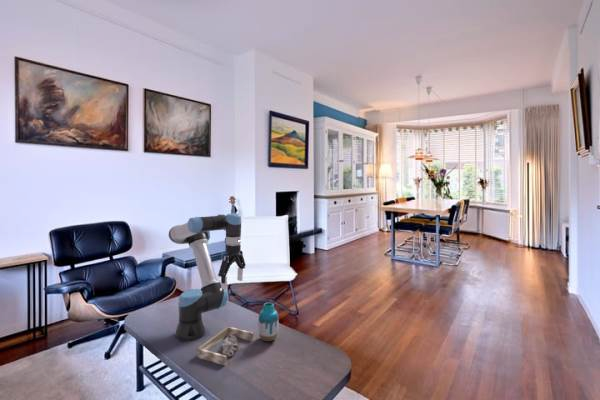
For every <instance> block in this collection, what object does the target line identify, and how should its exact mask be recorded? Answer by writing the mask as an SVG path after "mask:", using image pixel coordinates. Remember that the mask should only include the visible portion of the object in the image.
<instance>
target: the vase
mask: <svg viewBox="0 0 600 400" xmlns="http://www.w3.org/2000/svg"><path fill="white" fill-rule="evenodd" d="M278 335H279V313H278V311H277V310H276V309H275V304H274V303H273V302H269V301H268V302H265V303H263V307H262V310H260V312H259V313H258V336H259V338H260V339H261V340H262V341H264V342H272V341H274V340H275V339H276V338H277V337H278Z"/></svg>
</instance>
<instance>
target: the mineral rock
mask: <svg viewBox="0 0 600 400" xmlns="http://www.w3.org/2000/svg"><path fill="white" fill-rule="evenodd" d="M239 345H240V344H239V342H238V339H237V337H235V336H233V335H228V336H226V337H225V338H224V339H223V342H222V344H221V349H222V351H221V354H222V355H226V356H227V357H232V356H233V355H234V354H235V352H237V351H238V350H239Z"/></svg>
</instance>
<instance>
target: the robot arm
mask: <svg viewBox="0 0 600 400" xmlns="http://www.w3.org/2000/svg"><path fill="white" fill-rule="evenodd" d="M212 231H213V232H215V231H225V252H226V255H222V260H221V264H220V268H219V271H218V274H217V276H216V272H215V269H214V265H213V262H212V258H211V254H210V251H209V247H208V243H209V240H210V239H211V232H212ZM241 237H242V215H241V214H240V213H231V212H230V213H227V214H226V215H225V214H217V215H212V216H211V215H209V216H194V217H190V218H188V221H187V222H186V223H183V224H177V225H174V226H172V227H171V228H170V230H168V238H169V240H170V241H171V242H173V243H175V244H178V245H184V244H185V245H186V244H188V247H189V248H190V249H192V252H193V255H194V256H193V257H194V259H195V263H196V267H197V271H198V274H199V279H200V282H201V287H200V288H195V289H194V288H192V289H188V290H185V291H184V292H181V294H180V295H179V297H178V303H177V304H178V324H177V327H176V330H175V333H174V334H175V338H176V340H177V341H179V342H192V341H195V340H198V339H200V338H202V337H203V336H205V333H206V326H205V325H204V322H203V319H202V317H203V315H202V314H205V313H207V312H211V311H213V310H218V309H220V308H223V307H225V306H226V305H227V303H228V300H229V299H228V297H229V293H228V276H227V275H228V273H229V271H230V268H231V265H232V264H234V263H235V264H236V266H237V267H238V268H237V276H236V277H237V279H236V280H237V281H238V282H239V281H240V282H242V281H243V277H244V275H243V273H244V269H245V268H246V261H245V259H244V252H243V251H242V249H241V247H242V246H241V242H242V241H241V239H242V238H241ZM217 277H220V281H219V280H218V279H217Z"/></svg>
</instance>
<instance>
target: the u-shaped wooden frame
mask: <svg viewBox="0 0 600 400" xmlns="http://www.w3.org/2000/svg"><path fill="white" fill-rule="evenodd" d="M228 335H233V336H234V337H235V338H240V339H243V340H246V341H251V342H253V341H254V332H253V331H248V330H244V329H240V328H237V327H232V326H228V325H227V327H225V328H224V329H222V330H221V331H220V332H218V333H217V334H215V335H214V336H213V337H211V338H210V339H209V340H207V341H206V342H204V343H203V344H201V345H200V346H199V347H197V348H196V357H197V358H198V357H199V359H201V360H205V361H209V362H212V363H215V364H219V365H222V366H225V367H226V366H227V365H228V355H226V354H223V353H219V352H215V351H211V349H213V347H215V346H217V344H219V343H220V342H221V341H222V340H225V339H226V337H227V336H228Z"/></svg>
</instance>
